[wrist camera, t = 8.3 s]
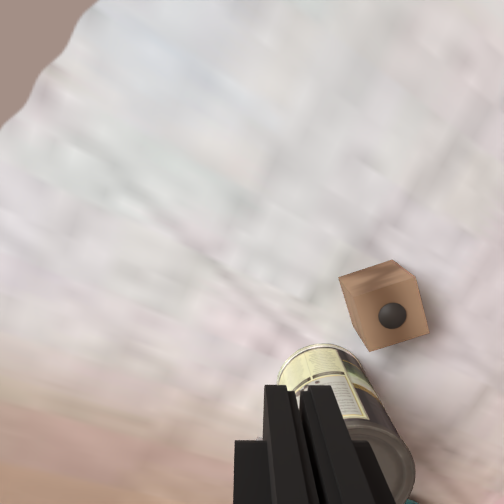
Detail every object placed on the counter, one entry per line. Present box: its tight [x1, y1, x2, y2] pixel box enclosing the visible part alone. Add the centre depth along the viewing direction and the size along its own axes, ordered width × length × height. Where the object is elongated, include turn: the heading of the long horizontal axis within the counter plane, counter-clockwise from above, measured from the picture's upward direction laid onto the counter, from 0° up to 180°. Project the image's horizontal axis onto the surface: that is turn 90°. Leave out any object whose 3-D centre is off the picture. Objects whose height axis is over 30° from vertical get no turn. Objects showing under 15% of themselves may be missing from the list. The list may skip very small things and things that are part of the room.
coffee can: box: [277, 344, 415, 504], centre depth 39 cm, size 10×10×14 cm
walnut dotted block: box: [338, 260, 429, 352], centre depth 41 cm, size 6×6×6 cm
